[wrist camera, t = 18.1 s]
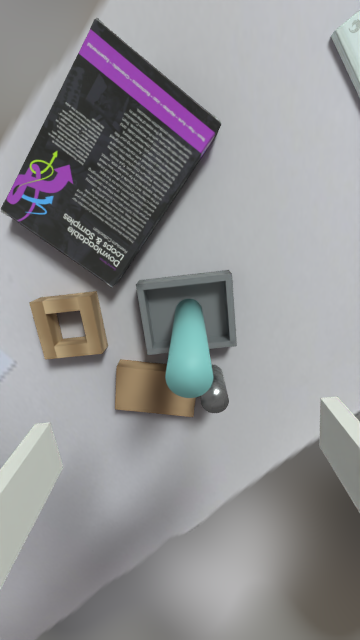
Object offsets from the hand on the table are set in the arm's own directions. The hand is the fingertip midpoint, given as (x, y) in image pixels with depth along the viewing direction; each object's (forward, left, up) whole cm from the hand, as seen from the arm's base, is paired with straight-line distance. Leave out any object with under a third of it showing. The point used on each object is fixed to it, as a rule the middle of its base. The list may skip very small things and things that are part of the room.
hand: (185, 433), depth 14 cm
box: (-6, +16, -23) cm, 29 cm away
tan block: (-5, -10, -23) cm, 25 cm away
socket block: (-14, 0, -22) cm, 26 cm away
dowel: (0, 0, -22) cm, 22 cm away
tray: (0, 0, -22) cm, 22 cm away
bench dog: (+2, -9, -22) cm, 24 cm away
